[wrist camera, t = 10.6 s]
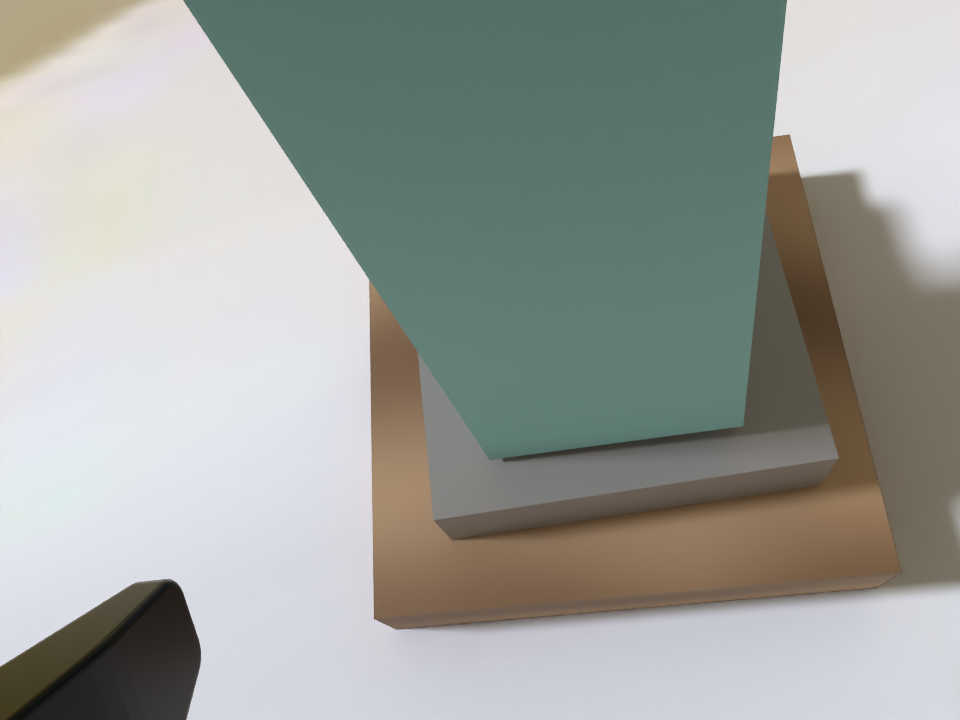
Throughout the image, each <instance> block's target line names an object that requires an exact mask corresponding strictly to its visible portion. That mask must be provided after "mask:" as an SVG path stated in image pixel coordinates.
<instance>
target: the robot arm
mask: <svg viewBox="0 0 960 720" xmlns="http://www.w3.org/2000/svg"><path fill="white" fill-rule="evenodd" d="M200 663H201V649H200V643H199V639H198V636H197V633H196V630H195V627H194V624H193V621H192V618H191V615H190V612H189V609H188V606H187V603H186V600H185V597H184V594H183V592H182V590H181V587H180V586H179V585H178V583H176V582H175V581H173V580H171V579H163V580H154V581H144V582H138V583H134V584H132V585H130V586H129V587H127V588H126V589H124V590H122V591H121V592H119V593H118V594H116V595H114V596H113V597H111V598H110V599H108V600H106V601H105V602H103V603H102V604H100V605H98V606H97V607H95V608H94V609H92V610H90V611H89V612H87V613H86V614H84V615H82V616H81V617H79V618H77V619H76V620H74V621H73V622H71V623H69V624H68V625H66V626H65V627H63V628H61V629H60V630H58V631H57V632H55V633H53V634H52V635H50V636H49V637H47V638H45V639H44V640H42V641H41V642H39V643H37V644H36V645H34V646H33V647H31V648H29V649H28V650H26V651H25V652H23V653H21V654H20V655H18V656H17V657H15V658H13V659H12V660H10V661H9V662H7V663H5V664H4V665H2V666H1V667H0V720H186V719H187V715H188V711H189V707H190V704H191V700H192V696H193V692H194V688H195V684H196V681H197V677H198V673H199V669H200Z"/></svg>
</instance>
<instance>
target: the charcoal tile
mask: <svg viewBox="0 0 960 720" xmlns="http://www.w3.org/2000/svg"><path fill="white" fill-rule="evenodd" d="M418 360H419V370H420V381H421V392H422V403H423V413H424V424H425V435H426V446H427V456H428V467H429V478H430V489H431V499H432V510H433V520H434V521H435V522H436V524H437V525H438V526H439V527H440V528H441V529H442V530H443V531H444V532H445V533H446V535H447V536H448V537H449V538H450V539H451V540H458V539H464V538H471V537H478V536H484V535H491V534H498V533H505V532H511V531H518V530H525V529H532V528H538V527H545V526H552V525H558V524H565V523H572V522H579V521H585V520H592V519H599V518H606V517H612V516H619V515H626V514H632V513H639V512H646V511H652V510H659V509H665V508H672V507H679V506H685V505H692V504H699V503H705V502H712V501H719V500H725V499H732V498H739V497H745V496H752V495H759V494H765V493H772V492H779V491H785V490H792V489H799V488H805V487H812V486H819V485H820V483H821V482H822V481H823V479H824V478H825V477H826V475H827V474H828V473H829V471H830V470H831V468H832V467H833V466H834V464H835V463H836V462H837V460H838V459H839V456H838V453H837V450H836V446H835V443H834V439H833V436H832V433H831V429H830V426H829V423H828V419H827V416H826V412H825V409H824V406H823V402H822V399H821V395H820V392H819V389H818V385H817V382H816V379H815V375H814V372H813V368H812V365H811V362H810V358H809V355H808V351H807V348H806V345H805V341H804V338H803V334H802V331H801V328H800V324H799V321H798V318H797V314H796V311H795V307H794V304H793V301H792V297H791V294H790V290H789V287H788V284H787V280H786V277H785V273H784V270H783V267H782V263H781V260H780V257H779V253H778V250H777V246H776V243H775V240H774V236H773V233H772V229H771V226H770V223H769V219H768V216H767V213H766V209H765V218H764V228H763V238H762V248H761V258H760V267H759V277H758V287H757V297H756V307H755V316H754V326H753V336H752V346H751V355H750V365H749V375H748V385H747V395H746V404H745V414H744V424H743V426H741V427H734V428H726V429H719V430H711V431H704V432H696V433H689V434H681V435H673V436H666V437H658V438H651V439H643V440H636V441H628V442H621V443H613V444H606V445H598V446H590V447H583V448H575V449H568V450H560V451H553V452H545V453H538V454H530V455H523V456H515V457H508V458H500V459H492V460H489V458H488V457H487V455H486V454H485V452H484V451H483V449H482V448H481V446H480V445H479V443H478V442H477V440H476V439H475V437H474V436H473V434H472V433H471V431H470V430H469V428H468V427H467V425H466V424H465V422H464V421H463V419H462V418H461V416H460V415H459V413H458V412H457V410H456V409H455V407H454V406H453V404H452V403H451V401H450V400H449V398H448V397H447V395H446V394H445V392H444V391H443V389H442V388H441V386H440V385H439V383H438V382H437V380H436V379H435V377H434V376H433V374H432V373H431V371H430V370H429V368H428V367H427V365H426V364H425V362H424V361H423V359H422V358H421V356H420V355H419V353H418Z"/></svg>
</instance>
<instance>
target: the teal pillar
mask: <svg viewBox="0 0 960 720" xmlns="http://www.w3.org/2000/svg"><path fill="white" fill-rule="evenodd" d="M183 1H184V2H185V4H186V5H187V7H188V8H189V10H190V11H191V13H192V14H193V16H194V17H195V19H196V20H197V22H198V23H199V25H200V26H201V28H202V29H203V31H204V32H205V34H206V35H207V37H208V38H209V40H210V41H211V43H212V44H213V46H214V47H215V49H216V50H217V52H218V53H219V55H220V56H221V58H222V59H223V61H224V62H225V64H226V65H227V67H228V68H229V70H230V71H231V73H232V74H233V76H234V77H235V79H236V80H237V82H238V83H239V85H240V86H241V88H242V89H243V91H244V92H245V94H246V95H247V97H248V98H249V100H250V101H251V103H252V104H253V106H254V107H255V109H256V110H257V112H258V113H259V115H260V116H261V118H262V119H263V121H264V122H265V124H266V125H267V127H268V128H269V130H270V131H271V133H272V134H273V136H274V137H275V139H276V140H277V142H278V143H279V145H280V146H281V148H282V149H283V151H284V152H285V154H286V155H287V157H288V158H289V160H290V161H291V163H292V164H293V166H294V167H295V169H296V170H297V172H298V173H299V175H300V176H301V178H302V179H303V181H304V182H305V184H306V185H307V187H308V188H309V190H310V191H311V193H312V194H313V196H314V197H315V199H316V200H317V202H318V203H319V205H320V206H321V208H322V209H323V211H324V212H325V214H326V215H327V217H328V218H329V220H330V221H331V223H332V224H333V226H334V227H335V229H336V230H337V232H338V233H339V235H340V236H341V238H342V239H343V241H344V242H345V244H346V245H347V247H348V248H349V250H350V251H351V253H352V254H353V256H354V257H355V259H356V260H357V262H358V263H359V265H360V266H361V268H362V269H363V271H364V272H365V274H366V275H367V277H368V278H369V280H370V281H371V283H372V284H373V286H374V287H375V289H376V290H377V292H378V293H379V295H380V296H381V298H382V299H383V301H384V302H385V304H386V305H387V307H388V308H389V310H390V311H391V313H392V314H393V316H394V317H395V319H396V320H397V322H398V323H399V325H400V326H401V328H402V329H403V331H404V332H405V334H406V335H407V337H408V338H409V340H410V341H411V343H412V344H413V346H414V347H415V349H416V350H417V352H418V353H419V355H420V356H421V358H422V359H423V361H424V362H425V364H426V365H427V367H428V368H429V370H430V371H431V373H432V374H433V376H434V377H435V379H436V380H437V382H438V383H439V385H440V386H441V388H442V389H443V391H444V392H445V394H446V395H447V397H448V398H449V400H450V401H451V403H452V404H453V406H454V407H455V409H456V410H457V412H458V413H459V415H460V416H461V418H462V419H463V421H464V422H465V424H466V425H467V427H468V428H469V430H470V431H471V433H472V434H473V436H474V437H475V439H476V440H477V442H478V443H479V445H480V446H481V448H482V449H483V451H484V452H485V454H486V455H487V457H488V458H489V460H492V459H500V458H508V457H515V456H523V455H530V454H538V453H545V452H553V451H560V450H568V449H575V448H583V447H590V446H598V445H606V444H613V443H621V442H628V441H636V440H643V439H651V438H658V437H666V436H673V435H681V434H689V433H696V432H704V431H711V430H719V429H726V428H734V427H741V426H743V424H744V414H745V404H746V395H747V385H748V375H749V365H750V355H751V346H752V336H753V326H754V316H755V307H756V297H757V287H758V277H759V267H760V258H761V248H762V238H763V228H764V218H765V209H766V199H767V189H768V179H769V169H770V160H771V150H772V140H773V130H774V120H775V111H776V101H777V91H778V81H779V72H780V62H781V52H782V42H783V32H784V23H785V13H786V3H787V0H183Z"/></svg>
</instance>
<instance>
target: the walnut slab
mask: <svg viewBox="0 0 960 720" xmlns="http://www.w3.org/2000/svg"><path fill="white" fill-rule="evenodd" d="M766 213H767V216H768V219H769V223H770V226H771V229H772V233H773V236H774V240H775V243H776V246H777V250H778V253H779V257H780V260H781V263H782V267H783V270H784V273H785V277H786V280H787V284H788V287H789V290H790V294H791V297H792V301H793V304H794V307H795V311H796V314H797V318H798V321H799V324H800V328H801V331H802V334H803V338H804V341H805V345H806V348H807V351H808V355H809V358H810V362H811V365H812V368H813V372H814V375H815V379H816V382H817V385H818V389H819V392H820V395H821V399H822V402H823V406H824V409H825V412H826V416H827V419H828V423H829V426H830V429H831V433H832V436H833V439H834V443H835V446H836V450H837V453H838V456H839V459H838V460H837V462H836V463H835V464H834V466H833V467H832V468H831V470H830V471H829V473H828V474H827V475H826V477H825V478H824V479H823V481H822V482H821V483H820V485H819V486H812V487H805V488H799V489H792V490H785V491H779V492H772V493H765V494H759V495H752V496H745V497H739V498H732V499H725V500H719V501H712V502H705V503H699V504H692V505H685V506H679V507H672V508H665V509H659V510H652V511H646V512H639V513H632V514H626V515H619V516H612V517H606V518H599V519H592V520H585V521H579V522H572V523H565V524H558V525H552V526H545V527H538V528H532V529H525V530H518V531H511V532H505V533H498V534H491V535H484V536H478V537H471V538H464V539H458V540H451V539H450V538H449V537H448V536H447V535H446V533H445V532H444V531H443V530H442V529H441V528H440V527H439V526H438V525H437V524H436V522H435V521H434V520H433V510H432V499H431V489H430V478H429V467H428V456H427V446H426V435H425V424H424V413H423V403H422V392H421V381H420V370H419V360H418V352H417V350H416V349H415V347H414V346H413V344H412V343H411V341H410V340H409V338H408V337H407V335H406V334H405V332H404V331H403V329H402V328H401V326H400V325H399V323H398V322H397V320H396V319H395V317H394V316H393V314H392V313H391V311H390V310H389V308H388V307H387V305H386V304H385V302H384V301H383V299H382V298H381V296H380V295H379V293H378V292H377V290H376V289H375V287H374V286H373V284H372V283H371V281H370V280H369V290H370V362H371V434H372V506H373V578H374V619H376V620H378V621H380V622H382V623H384V624H386V625H388V626H390V627H392V628H394V629H406V628H417V627H429V626H440V625H452V624H463V623H475V622H487V621H498V620H510V619H521V618H533V617H544V616H556V615H567V614H579V613H591V612H602V611H614V610H625V609H637V608H648V607H660V606H671V605H683V604H695V603H706V602H718V601H729V600H741V599H752V598H764V597H775V596H787V595H799V594H810V593H822V592H833V591H845V590H856V589H868V588H877V587H878V586H880V585H882V584H883V583H885V582H887V581H888V580H890V579H892V578H893V577H895V576H896V575H898V574H900V573H901V568H900V565H899V561H898V557H897V553H896V549H895V545H894V541H893V537H892V533H891V529H890V525H889V522H888V518H887V514H886V510H885V506H884V502H883V498H882V494H881V490H880V486H879V482H878V478H877V475H876V471H875V467H874V463H873V459H872V455H871V451H870V447H869V443H868V439H867V435H866V432H865V428H864V424H863V420H862V416H861V412H860V408H859V404H858V400H857V396H856V392H855V389H854V385H853V381H852V377H851V373H850V369H849V365H848V361H847V357H846V353H845V349H844V346H843V342H842V338H841V334H840V330H839V326H838V322H837V318H836V314H835V310H834V306H833V302H832V299H831V295H830V291H829V287H828V283H827V279H826V275H825V271H824V267H823V263H822V259H821V256H820V252H819V248H818V244H817V240H816V236H815V232H814V228H813V224H812V220H811V216H810V213H809V209H808V205H807V201H806V197H805V193H804V189H803V185H802V181H801V177H800V173H799V169H798V166H797V162H796V158H795V154H794V150H793V146H792V142H791V138H790V135H783V136H776V137H773V140H772V150H771V160H770V169H769V179H768V189H767V199H766Z"/></svg>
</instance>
